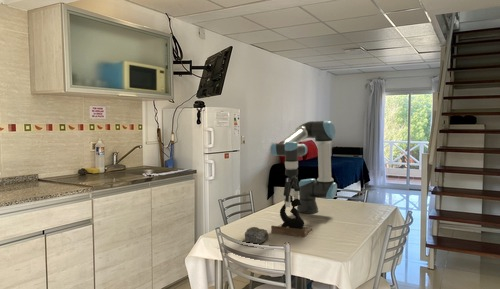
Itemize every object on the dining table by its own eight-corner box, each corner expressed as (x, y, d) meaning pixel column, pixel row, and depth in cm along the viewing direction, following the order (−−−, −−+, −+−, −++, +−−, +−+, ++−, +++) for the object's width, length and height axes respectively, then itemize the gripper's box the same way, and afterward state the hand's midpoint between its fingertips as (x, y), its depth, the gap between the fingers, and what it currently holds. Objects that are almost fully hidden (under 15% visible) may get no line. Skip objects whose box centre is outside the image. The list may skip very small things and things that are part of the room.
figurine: (279, 230, 214) (278, 196, 213) (281, 226, 222) (281, 193, 221) (303, 231, 211) (303, 197, 209) (305, 227, 219) (304, 194, 218)
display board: (281, 226, 228) (281, 219, 227) (312, 230, 218) (312, 222, 218) (271, 232, 214) (271, 225, 214) (304, 237, 205) (304, 229, 205)
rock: (261, 246, 192) (271, 238, 206) (262, 234, 191) (271, 227, 205) (239, 243, 196) (250, 235, 210) (239, 231, 196) (250, 224, 210)
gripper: (293, 165, 227) (293, 199, 229) (277, 171, 205) (277, 208, 207) (304, 165, 224) (305, 200, 225) (289, 171, 202) (290, 209, 203)
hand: (292, 204), depth 216 cm, fingers open, 13 cm apart
